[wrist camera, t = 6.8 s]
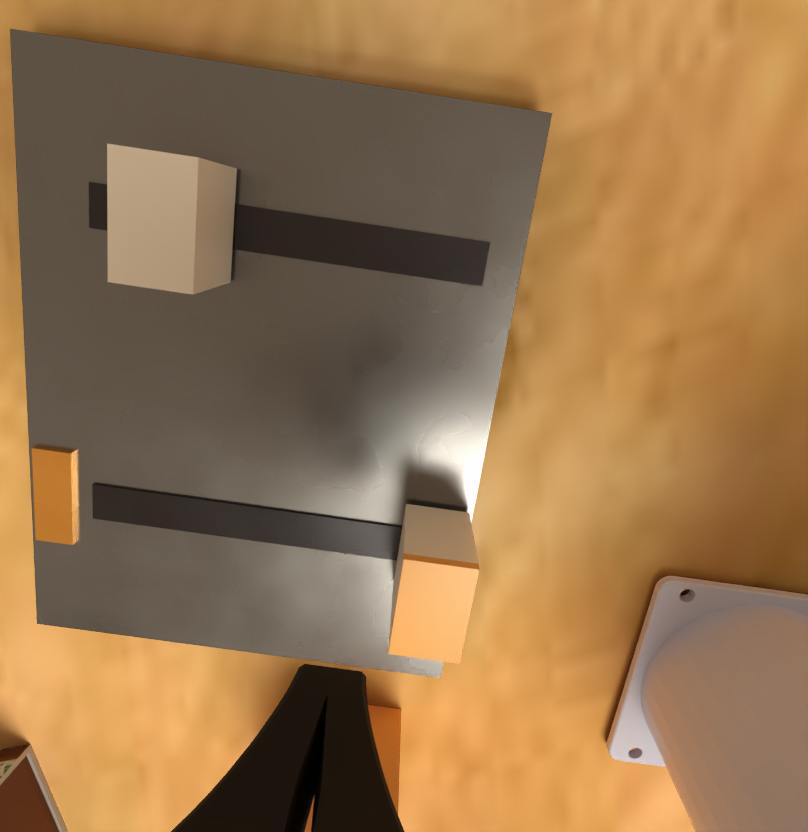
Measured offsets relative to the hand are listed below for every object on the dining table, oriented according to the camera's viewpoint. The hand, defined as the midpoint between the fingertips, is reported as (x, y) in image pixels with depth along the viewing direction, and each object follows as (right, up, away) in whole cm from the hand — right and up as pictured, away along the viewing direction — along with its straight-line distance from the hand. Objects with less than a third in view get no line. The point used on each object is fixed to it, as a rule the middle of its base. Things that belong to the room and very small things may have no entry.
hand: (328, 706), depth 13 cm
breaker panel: (-3, +7, +7) cm, 10 cm away
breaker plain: (-4, +11, +4) cm, 13 cm away
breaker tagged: (+2, +2, +7) cm, 7 cm away
